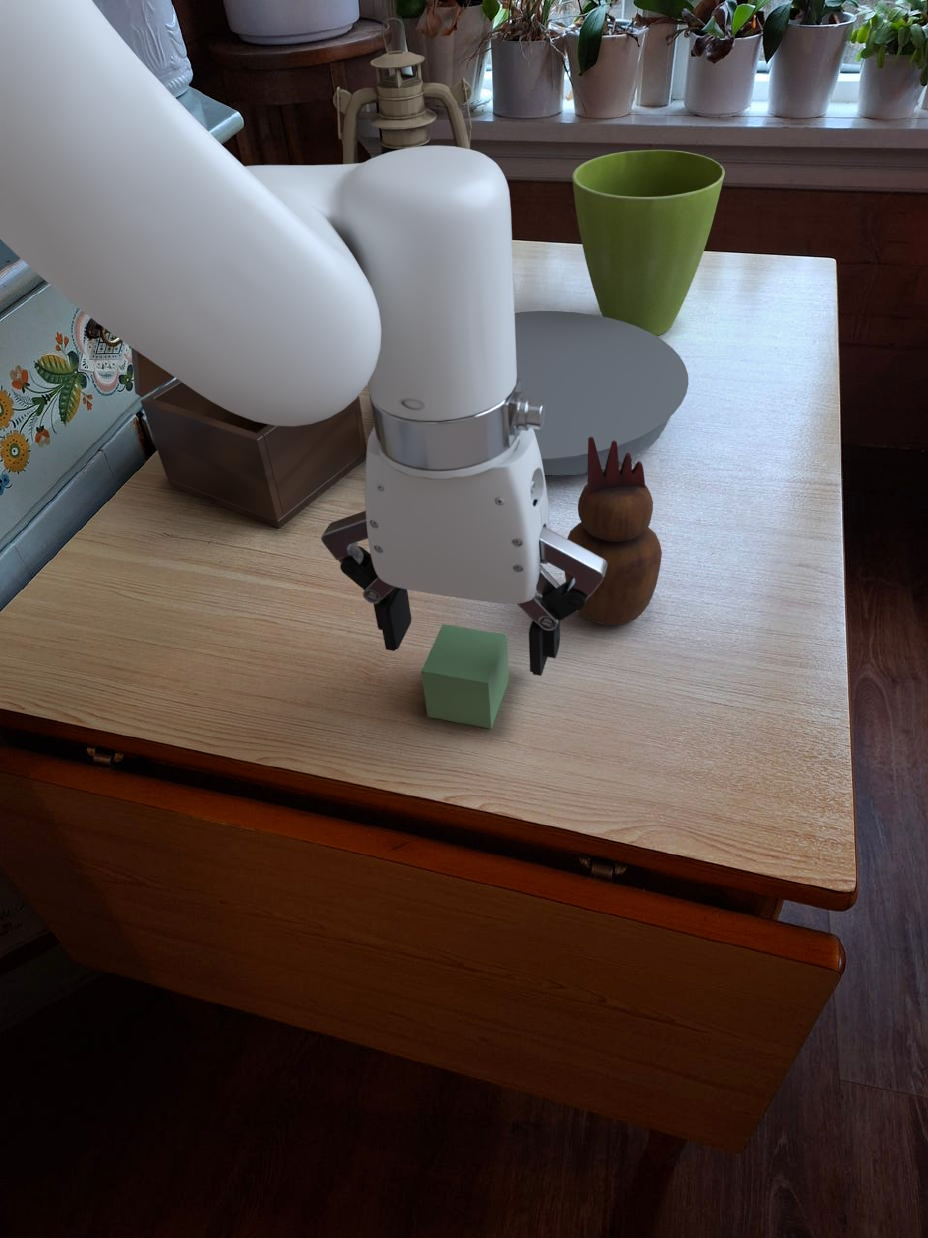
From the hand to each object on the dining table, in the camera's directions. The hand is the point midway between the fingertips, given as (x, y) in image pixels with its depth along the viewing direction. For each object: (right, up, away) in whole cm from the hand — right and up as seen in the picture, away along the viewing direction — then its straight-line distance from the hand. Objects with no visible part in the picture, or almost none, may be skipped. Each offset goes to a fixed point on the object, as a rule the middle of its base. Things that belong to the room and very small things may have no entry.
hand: (468, 647), depth 59 cm
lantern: (-5, +36, +46) cm, 59 cm away
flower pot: (+19, +35, +43) cm, 58 cm away
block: (0, -4, +3) cm, 5 cm away
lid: (-23, +29, +16) cm, 40 cm away
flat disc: (+7, +21, +29) cm, 37 cm away
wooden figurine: (+10, +2, +9) cm, 14 cm away
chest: (-18, +16, +25) cm, 35 cm away
